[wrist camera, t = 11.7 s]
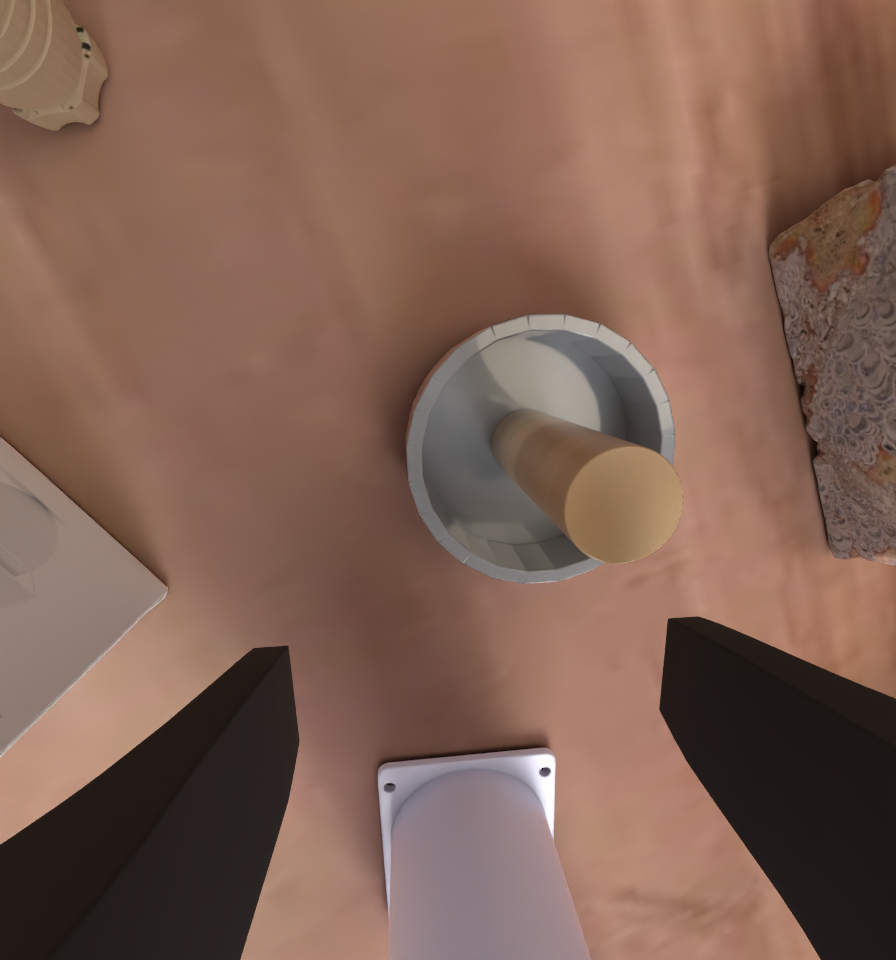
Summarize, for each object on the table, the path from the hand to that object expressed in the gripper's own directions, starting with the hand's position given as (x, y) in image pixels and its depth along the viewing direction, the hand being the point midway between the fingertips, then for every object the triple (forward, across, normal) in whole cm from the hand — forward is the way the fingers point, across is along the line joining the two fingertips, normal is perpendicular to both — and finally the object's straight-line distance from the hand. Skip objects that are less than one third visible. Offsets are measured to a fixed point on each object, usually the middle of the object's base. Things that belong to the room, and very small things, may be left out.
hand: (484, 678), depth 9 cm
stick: (+10, -3, -3) cm, 11 cm away
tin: (+10, -3, -3) cm, 11 cm away
